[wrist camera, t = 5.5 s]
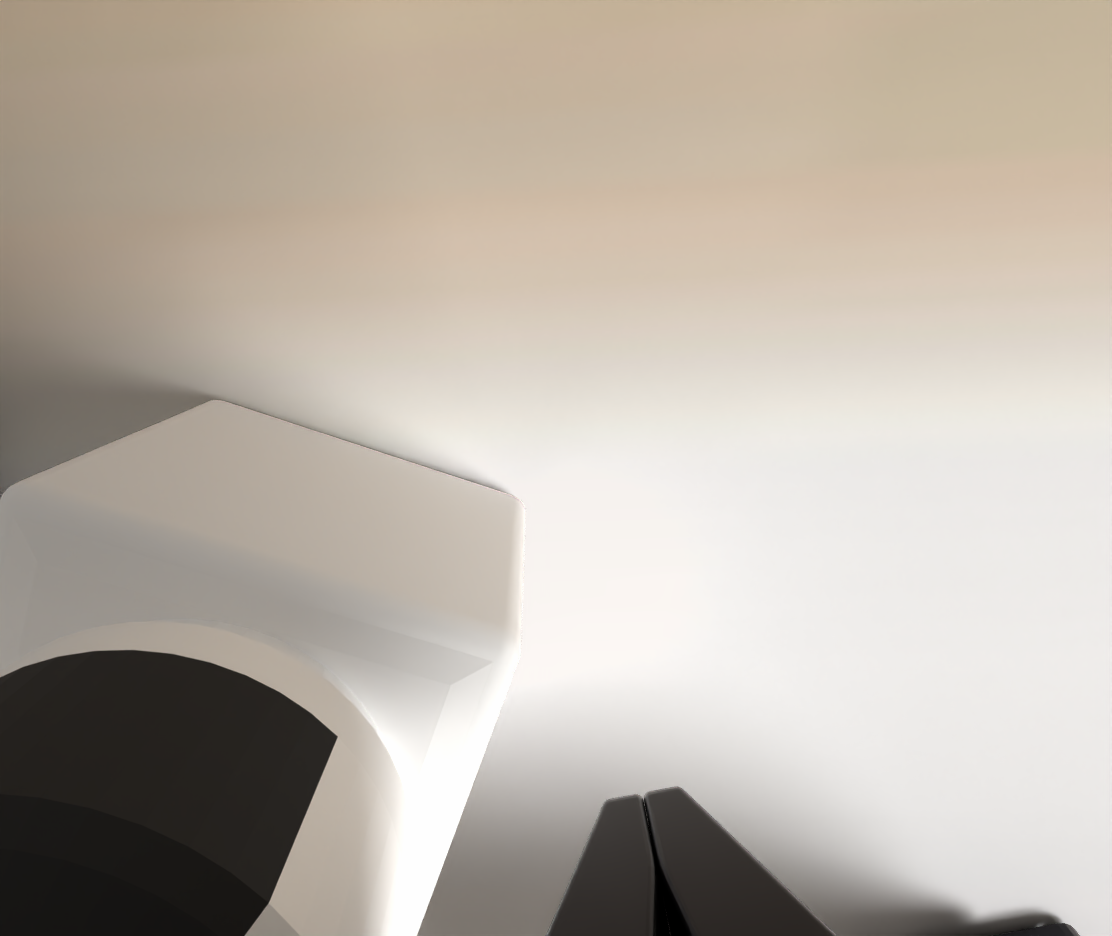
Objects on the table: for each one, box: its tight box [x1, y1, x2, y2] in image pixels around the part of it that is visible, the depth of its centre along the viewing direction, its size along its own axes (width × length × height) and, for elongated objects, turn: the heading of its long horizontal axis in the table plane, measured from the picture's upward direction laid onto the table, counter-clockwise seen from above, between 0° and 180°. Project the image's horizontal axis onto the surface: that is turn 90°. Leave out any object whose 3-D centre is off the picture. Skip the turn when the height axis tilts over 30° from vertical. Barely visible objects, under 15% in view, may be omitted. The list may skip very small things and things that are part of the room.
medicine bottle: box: [0, 400, 526, 936], centre depth 12 cm, size 7×7×12 cm
